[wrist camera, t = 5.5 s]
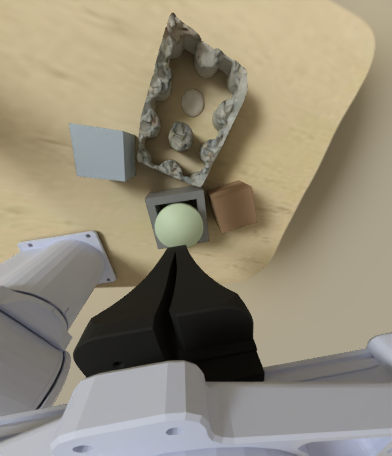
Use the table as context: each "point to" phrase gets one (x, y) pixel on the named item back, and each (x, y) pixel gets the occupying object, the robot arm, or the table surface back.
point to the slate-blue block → (103, 152)
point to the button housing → (177, 195)
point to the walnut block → (232, 206)
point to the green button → (179, 225)
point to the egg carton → (190, 99)
